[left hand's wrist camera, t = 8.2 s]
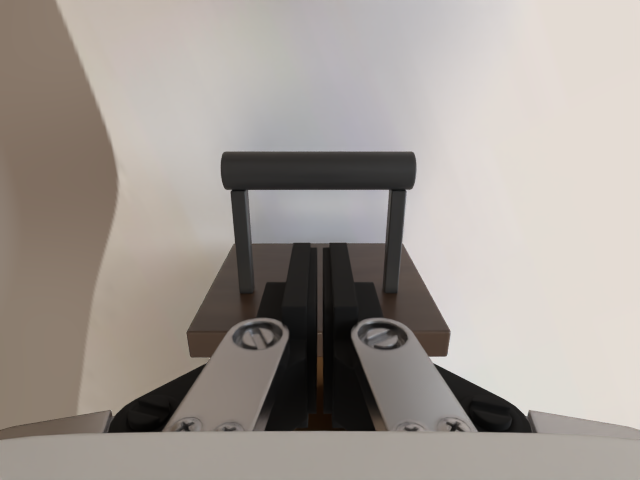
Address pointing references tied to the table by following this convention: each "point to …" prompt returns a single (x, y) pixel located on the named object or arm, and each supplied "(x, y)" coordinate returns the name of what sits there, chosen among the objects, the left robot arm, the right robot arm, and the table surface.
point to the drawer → (273, 259)
